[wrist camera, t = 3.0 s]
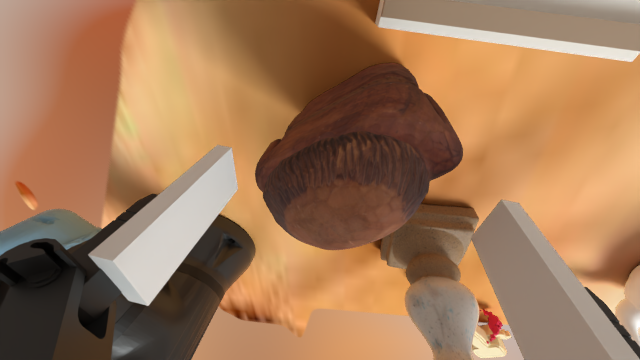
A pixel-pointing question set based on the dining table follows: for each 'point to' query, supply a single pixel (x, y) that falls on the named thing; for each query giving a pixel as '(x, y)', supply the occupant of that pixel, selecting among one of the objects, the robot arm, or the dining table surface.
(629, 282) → the teapot
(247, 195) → the dining table surface
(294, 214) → the wooden figurine
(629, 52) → the display plinth
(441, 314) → the candle holder
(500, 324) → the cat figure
